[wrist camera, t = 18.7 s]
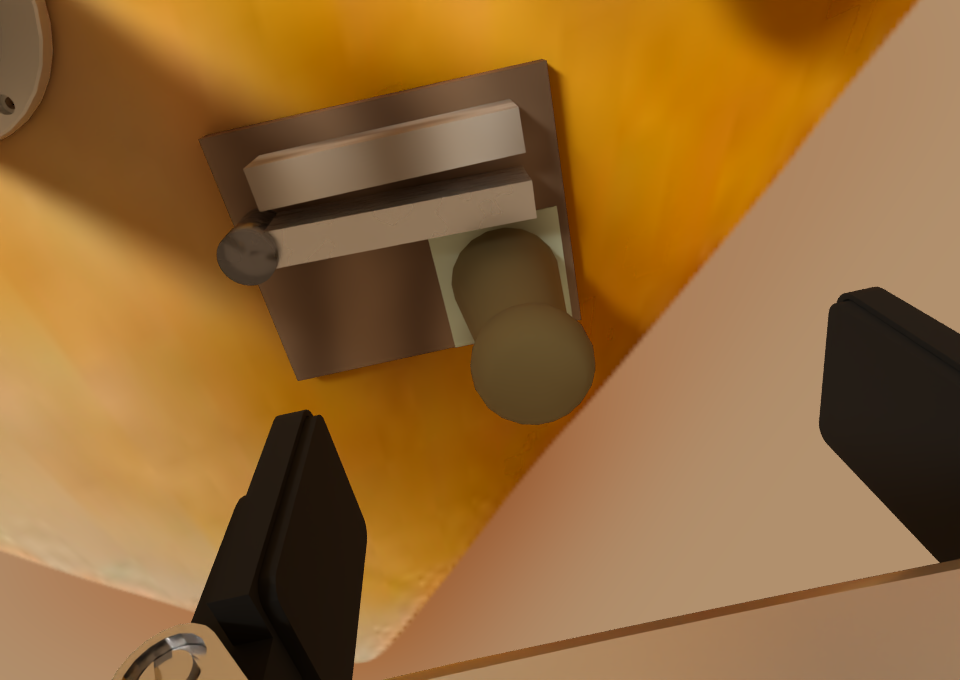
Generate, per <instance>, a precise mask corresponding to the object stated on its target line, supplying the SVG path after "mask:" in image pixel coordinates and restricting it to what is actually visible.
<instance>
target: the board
mask: <svg viewBox="0 0 960 680" xmlns="http://www.w3.org/2000/svg"><path fill="white" fill-rule="evenodd" d="M198 140H199V142H200V145H201V147H202V149H203V152H204V154H205V157H206V159H207V162H208V164H209V166H210V169H211V171H212V174H213V176H214V179H215V181H216V183H217V186H218V188H219V191H220V193H221V196H222V198H223V200H224V203H225V205H226V208H227V210H228V213H229V215H230V217H231V220H232V222H233V225H234V227H235V225H236V224H237V223H238V222H239V221H240V220H241V219H242V218H243V217H244V215H245V214H247V213H248V212H249V211H251V210H254V209H259V211H260V212H262V211H267V210H273V211H275V212H277V213H279V212H284V211H289V210H294V209H300V208H305V207H310V206H315V205H320V204H325V203H330V202H336V201H341V200H346V199H351V198H356V197H361V196H366V195H372V194H377V193H382V192H387V191H392V190H397V189H403V188H408V187H413V186H418V185H423V184H428V183H433V182H439V181H444V180H449V179H454V178H459V177H464V176H469V175H475V174H480V173H485V172H490V171H495V170H500V169H505V168H511V167H516V166H521V165H522V166H523V168H524V169H525V171H526V172H527V174H528V175H529V177H530V178H531V180H532V184H533V192H534V200H535V207H536V215H537V218H535V219H529V220H524V221H519V222H514V223H509V224H504V225H498V226H493V227H488V228H483V229H478V230H473V231H467V232H462V233H457V234H452V235H447V236H442V237H436V238H431V239H426V240H421V241H416V242H411V243H405V244H400V245H395V246H390V247H385V248H380V249H375V250H369V251H364V252H359V253H354V254H349V255H344V256H338V257H333V258H328V259H323V260H318V261H313V262H307V263H302V264H297V265H292V266H287V267H282V268H276V269H275V271H274V273H273V274H272V276H271V277H270V278H269V279H268V280H267V281H265V282H263V283H261V284H258V285H259V288H260V290H261V293H262V295H263V298H264V300H265V302H266V305H267V307H268V310H269V312H270V315H271V317H272V319H273V322H274V324H275V327H276V329H277V332H278V334H279V336H280V339H281V341H282V344H283V346H284V349H285V351H286V353H287V356H288V358H289V361H290V363H291V366H292V368H293V370H294V373H295V375H296V378H297V380H298V381H300V380H305V379H310V378H314V377H319V376H323V375H328V374H333V373H337V372H342V371H347V370H351V369H356V368H360V367H365V366H370V365H374V364H379V363H383V362H388V361H393V360H397V359H402V358H406V357H411V356H416V355H420V354H425V353H429V352H434V351H439V350H443V349H448V348H452V347H461V346H465V345H470V344H475V342H474V339H473V337H472V335H471V333H470V331H469V329H468V326H467V324H466V322H465V320H464V318H463V315H462V313H461V311H460V309H459V307H458V305H457V302H456V300H455V297H454V293H453V289H452V285H451V283H452V273H453V267H454V265H455V263H456V260H457V258H458V256H459V254H460V252H461V251H462V250H463V249H464V248H465V247H466V246H467V245H468V244H469V243H470V241H471V240H473V239H475V238H476V237H478V236H480V235H482V234H483V233H485V232H487V231H491V230H495V229H500V228H516V229H523V230H525V231H528V232H530V233H533V234H535V235H537V236H538V237H540V238H541V239H542V240H543V241H544V242H545V243H546V244H547V245H548V246H550V248H551V250H552V252H553V254H554V256H555V257H556V259H557V262H558V268H559V273H560V278H561V284H562V289H563V294H564V300H565V305H566V311H567V313H568V314H569V315H570V316H572V317H573V318H574V319H575V320H576V321H577V320H581V315H580V307H579V300H578V292H577V285H576V277H575V270H574V262H573V255H572V247H571V240H570V232H569V225H568V218H567V210H566V203H565V195H564V188H563V180H562V173H561V165H560V158H559V150H558V143H557V135H556V128H555V120H554V113H553V105H552V98H551V90H550V83H549V75H548V68H547V61H546V60H543V59H541V60H536V61H532V62H527V63H523V64H518V65H514V66H510V67H505V68H501V69H496V70H492V71H488V72H483V73H479V74H474V75H470V76H466V77H461V78H457V79H452V80H448V81H443V82H439V83H435V84H430V85H426V86H421V87H417V88H413V89H408V90H404V91H399V92H395V93H390V94H386V95H382V96H377V97H373V98H368V99H364V100H360V101H355V102H351V103H346V104H342V105H338V106H333V107H329V108H324V109H320V110H315V111H311V112H307V113H302V114H298V115H293V116H289V117H285V118H280V119H276V120H271V121H267V122H263V123H258V124H254V125H249V126H245V127H240V128H236V129H232V130H227V131H223V132H218V133H214V134H210V135H206V136H204V137H202V138H200V139H198Z"/></svg>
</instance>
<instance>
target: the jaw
mask: <svg viewBox="0 0 960 680" xmlns="http://www.w3.org/2000/svg"><path fill="white" fill-rule="evenodd" d="M535 218H537V215H536V207H535V200H534V192H533V184H532V180H531V178H530V177H529V175H528V174H527V172H526V171H525V169H524V168H523V166H522V165H521V166H516V167H511V168H505V169H500V170H495V171H490V172H485V173H480V174H475V175H469V176H464V177H459V178H454V179H449V180H444V181H439V182H433V183H428V184H423V185H418V186H413V187H408V188H403V189H397V190H392V191H387V192H382V193H377V194H372V195H366V196H361V197H356V198H351V199H346V200H341V201H336V202H330V203H325V204H320V205H315V206H310V207H305V208H300V209H294V210H289V211H284V212H279V213H277V212H275V211H273V210H267V211H262V212H260V211H259V209H254V210H251V211H249V212H248V213H247V214H245V215H244V217H243V218H242V219H241V220H240V221H239V222H238V223H237V224H236V225H235V227H234V228H233V229H232V230H231V231H230V232H229V233H228V234H227V235H226V236H225V238H224V239H223V240H222V241H221V242H220V244H219V246H218V249H217V260H218V264H219V266H220V268H221V270H222V271H223V272H224V274H225V275H226V276H227V277H229V278H230V279H231V280H233V281H235V282H237V283H239V284H243V285H258V284H261V283H263V282H265V281H267V280H268V279H269V278H270V277H271V276H272V274H273V273H274V271H275V269H276V268H282V267H287V266H292V265H297V264H302V263H307V262H313V261H318V260H323V259H328V258H333V257H338V256H344V255H349V254H354V253H359V252H364V251H369V250H375V249H380V248H385V247H390V246H395V245H400V244H405V243H411V242H416V241H421V240H426V239H431V238H436V237H442V236H447V235H452V234H457V233H462V232H467V231H473V230H478V229H483V228H488V227H493V226H498V225H504V224H509V223H514V222H519V221H524V220H529V219H535Z"/></svg>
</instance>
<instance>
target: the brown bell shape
mask: <svg viewBox="0 0 960 680" xmlns="http://www.w3.org/2000/svg"><path fill="white" fill-rule="evenodd" d="M451 285H452V289H453V293H454V297H455V300H456V302H457V305H458V307H459V309H460V311H461V313H462V315H463V318H464V320H465V322H466V324H467V326H468V329H469V331H470V333H471V335H472V337H473V339H474V342H475V344H474V346H473V349H472V357H471V374H472V378H473V382H474V386H475V389H476V391H477V392H478V394H479V395H480V397H481V398H482V399H483V401H484V402H485V404H486V405H487V407H488V408H489V409H491V410H492V411H493V412H495V413H496V414H498V415H499V416H500V417H502V418H505V419H507V420H511V421H514V422H517V423H520V424H531V425H539V424H543V423H548V422H553V421H555V420H557V419H559V418H561V417H563V416H565V415H567V414H569V413H570V412H571V411H572V410H573V409H574V408H575V407H576V406H578V405H579V404H580V403H581V401H582V400H583V398H584V397H585V395H586V394H587V392H588V390H589V389H590V387H591V385H592V381H593V377H594V373H595V358H594V351H593V345H592V343H591V342H590V340H589V338H588V336H587V334H586V332H585V331H584V329H583V327H582V325H581V324H580V323H579V322H577V321H576V320H575V319H574V318H573V317H572V316H570V315H569V314H568V313H567V311H566V305H565V300H564V294H563V289H562V284H561V278H560V273H559V268H558V262H557V259H556V257H555V256H554V254H553V252H552V250H551V248H550V246H548V245H547V244H546V243H545V242H544V241H543V240H542V239H541V238H540V237H538V236H537V235H535V234H533V233H530V232H528V231H525V230H523V229H516V228H500V229H495V230H491V231H487V232H485V233H483V234H482V235H480V236H478V237H476V238H475V239H473V240H471V241H470V243H469V244H468V245H467V246H466V247H465V248H464V249H463V250H462V251H461V252H460V254H459V256H458V258H457V260H456V263H455V265H454V267H453V273H452V283H451Z"/></svg>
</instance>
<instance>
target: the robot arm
mask: <svg viewBox="0 0 960 680" xmlns="http://www.w3.org/2000/svg"><path fill="white" fill-rule="evenodd" d="M52 57H53V44H52V32H51V22H50V18H49V14H48V10H47V6H46V3H45V0H0V140H1V139H3V138H6V137H8V136H10V135H12V134H13V133H14V132H15V131H16V130H17V129H19V128H20V127H21V126H22V125H23V124H24V123H26V122H27V121H28V120H29V119H30V117H31V116H32V114H33V113H34V111H35V110H36V108H37V107H38V105H39V104H40V103H41V101H42V98H43V96H44V93H45V90H46V87H47V85H48V82H49V79H50V73H51V65H52ZM11 100H12V101H13V102H14V106H13V104H12V103H11ZM819 428H820V432H821V434H822V437H823V439H824V440H825V442H826V443H827V444H828V445H829V446H830V447H831V449H832V450H833V451H834V452H835V453H836V454H837V455H838V456H839V457H840V458H841V459H842V460H843V461H844V462H845V463H846V464H847V465H848V466H849V467H850V469H851V470H852V471H853V472H854V473H855V474H856V475H857V476H858V477H859V478H860V479H861V480H862V481H863V482H864V483H865V484H866V485H867V486H868V487H869V489H870V490H871V491H872V492H873V493H874V494H875V495H876V496H877V497H878V498H879V499H880V500H881V501H882V502H883V503H884V504H885V505H886V506H887V508H889V510H890V511H891V512H892V513H893V514H894V515H895V516H896V517H897V518H898V519H899V520H900V521H901V522H902V523H903V524H904V525H905V527H906V528H907V529H908V530H909V531H910V532H911V533H912V534H913V535H914V536H915V537H916V538H917V539H918V540H919V541H920V542H921V543H922V544H923V546H925V548H926V549H927V550H928V551H929V552H930V553H931V554H932V555H933V556H934V557H935V558H936V559H937V560H938V561H939V562H940V563H938V564H933V565H928V566H923V567H918V568H913V569H908V570H903V571H898V572H893V573H888V574H883V575H879V576H873V577H868V578H863V579H858V580H853V581H848V582H843V583H838V584H833V585H828V586H823V587H818V588H813V589H808V590H803V591H798V592H793V593H788V594H784V595H779V596H774V597H769V598H764V599H760V600H754V601H749V602H745V603H740V604H735V605H730V606H725V607H720V608H715V609H711V610H706V611H701V612H696V613H692V614H686V615H682V616H677V617H672V618H667V619H662V620H657V621H653V622H648V623H643V624H638V625H633V626H629V627H624V628H619V629H614V630H609V631H605V632H600V633H595V634H591V635H586V636H581V637H576V638H572V639H567V640H562V641H557V642H553V643H548V644H543V645H539V646H534V647H529V648H524V649H520V650H516V651H510V652H506V653H501V654H496V655H491V656H487V657H482V658H477V659H473V660H468V661H464V662H458V663H454V664H450V665H445V666H441V667H437V668H432V669H428V670H424V671H419V672H415V673H410V674H406V675H402V676H397V677H393V678H389V679H384V680H960V334H959V333H957V332H955V331H954V330H952V329H951V328H949V327H947V326H945V325H944V324H942V323H940V322H938V321H937V320H935V319H934V318H932V317H930V316H929V315H927V314H925V313H923V312H922V311H920V310H918V309H916V308H915V307H913V306H912V305H910V304H908V303H906V302H905V301H903V300H901V299H900V298H898V297H896V296H895V295H893V294H891V293H889V292H888V291H886V290H884V289H882V288H880V287H872V288H867V289H862V290H858V291H854V292H849V293H844V294H842V295H841V296H840V297H839V298H838V300H837V303H835V304H833V305H832V306H831V307H830V310H829V317H828V327H827V338H826V350H825V361H824V373H823V383H822V395H821V406H820V417H819ZM366 545H367V530H366V525H365V521H364V518H363V515H362V513H361V510H360V508H359V505H358V503H357V500H356V498H355V495H354V493H353V490H352V488H351V486H350V483H349V481H348V478H347V476H346V473H345V471H344V468H343V466H342V463H341V461H340V458H339V456H338V453H337V451H336V448H335V446H334V443H333V441H332V438H331V436H330V433H329V431H328V428H327V426H326V423H325V421H324V419H323V417H322V416H321V415H317V416H313V415H312V413H311V412H310V411H309V410H302V411H298V412H293V413H289V414H284V415H279V416H277V417H276V418H275V419H274V421H273V424H272V427H271V429H270V432H269V435H268V438H267V440H266V443H265V446H264V448H263V451H262V454H261V456H260V459H259V462H258V465H257V467H256V470H255V473H254V475H253V478H252V481H251V484H250V486H249V489H248V492H247V494H246V496H243V497H242V498H240V499H239V501H238V503H237V505H236V507H235V509H234V512H233V514H232V517H231V520H230V522H229V525H228V527H227V530H226V533H225V535H224V538H223V541H222V543H221V546H220V548H219V551H218V554H217V556H216V559H215V561H214V564H213V567H212V569H211V572H210V574H209V577H208V580H207V582H206V585H205V588H204V590H203V593H202V595H201V598H200V601H199V603H198V606H197V608H196V611H195V614H194V616H193V619H192V621H191V623H189V624H182V625H177V626H174V627H172V628H169V629H167V630H164V631H162V632H160V633H159V634H157V635H155V636H154V637H152V638H150V639H149V640H147V641H146V642H144V643H143V644H142V645H141V646H140V647H139V648H137V649H136V650H135V651H134V652H133V653H132V654H131V655H130V656H129V657H128V658H127V659H126V660H125V662H124V663H123V664H122V665H121V667H120V668H119V669H118V670H117V671H116V673H115V675H114V677H113V679H112V680H352V676H353V666H354V657H355V648H356V638H357V629H358V620H359V610H360V601H361V592H362V582H363V573H364V563H365V554H366Z"/></svg>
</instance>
